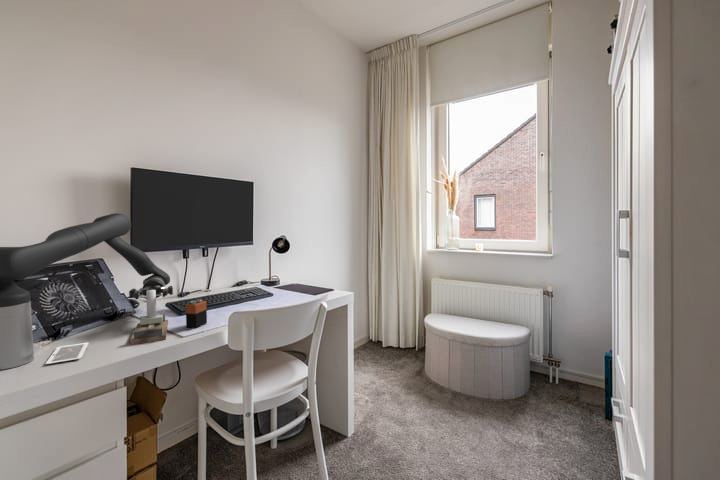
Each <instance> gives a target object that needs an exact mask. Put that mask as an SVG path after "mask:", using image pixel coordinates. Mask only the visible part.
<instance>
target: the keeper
mask: <svg viewBox="0 0 720 480" xmlns="http://www.w3.org/2000/svg"><path fill="white" fill-rule="evenodd" d="M145 298H146V315H144V316H145V317H141V316H140V317H141V319H140V318H139V323H140V325H145V324H153V323H162V322H163V315H159V314H157V298H156V290H148V291H146V297H145Z"/></svg>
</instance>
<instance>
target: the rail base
mask: <svg viewBox="0 0 720 480" xmlns="http://www.w3.org/2000/svg"><path fill="white" fill-rule="evenodd" d="M158 315H163V322H162V323H153V324H145V325H140V322H137V324H136V327H135V329H134V331H133V333H132V335H131V338H130V345H137V344H145V343H150V342H151V343H152V342H159V341H166V340H167V339H166V338H167V331H168V327H167V326H168V325H169V320H168V319H166V314H165V313H162V314H158ZM145 316H146V315H144V316H143V315H142V316H140V317H139V320H140V319H141V317H145Z"/></svg>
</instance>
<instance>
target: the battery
mask: <svg viewBox="0 0 720 480" xmlns="http://www.w3.org/2000/svg"><path fill="white" fill-rule="evenodd" d="M207 310H208V309H207V301H206V300H202V299H201V298H198V299H197V300H191V301H190V302H189V303H186V304H185V325H186V326H185V327H186V328H188V329H197V328H198V329H199V328H200V327H202V326H204V325H207V323H208V322H207V321H208V319H207V318H208V315H207Z"/></svg>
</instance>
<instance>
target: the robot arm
mask: <svg viewBox="0 0 720 480" xmlns="http://www.w3.org/2000/svg"><path fill="white" fill-rule="evenodd" d="M131 228H132V221H131V220H130V218H129V217H128V216H127V215H126V214H123V213H119V212H117V213H116V212H114V213H110V214H107V215H102V216H98V217H96V218H95V219H94V220H93V221H92V222H88V223H81V224H77V225H71V226H68V227H64V228H62V229H58V230H56V231H54V232H52V233H50V234H49V235H48V236H47V237H46V238H45V240H43V241H42V242H39V243H34V244H30V245H25V246H24V245H23V246H0V370H8V369H12V368H13V369H14V368H17V367H20V366H23V365H26V364H28V363H31V362H32V361H33V360H34V359H35V357H34V356H35V355H34V353H35V351H34V339H33V338H34V333H33V318H32V301H31V300H32V299H31V293H30V291H28V290H27V289H24V288H22V287H20V286H18V285H17V284H16V282H15V281H17V280H23V279H26V278H27V277H31V276H32V275H34V274H36V273H37V272H40V271H41V270H43V269H45V268H47V267H48V266H50V265H52V264H54V263H57V262H60V261H62V260H63V261H64V260H65V259H68V258H71V257H72V256H75V255H78V254H80V253H82V252H84V251H88V250H89V249H91V248H94V247H95V246H98V245H99V244H101V243H103V242H104V243H105V244H107V245H108V246H109V247H110V248H111V249H113V250H114V251H115V252H116V253H117V254H119V255H120V256H121V257H123V258H124V259H125V261H127V262H128V263H129V264H130V266H132V268H133V269H134V270H135V271H136V272H137V274H138V275H140V277H146V276H147V277H146V278H145V279H143V281H142V285H143V286H142V288H141V287H140V288H138V290H137V289H136V288H131V289H130V290H129V291H128V294H129V295H128V296H129V299H135V300H138V299H140V298H143V299H144V298H146V291H148V290H156V299H158V298H160V297H162V298H165V297H166V296H168V294H169V295H170V296H171V295H172V296H173V295H174V287H173V285H169V284H170V282H171V276H170V275H169V273H167V272H166V271H164V269H161V268H160V267H158V266H157V265H156V264H155V263H154V262H153V261H152V260H151V259H150V257H149V255H148V254H146V252H144V251H142V250H141V249H139V248H137V247H135V246H133V245H131V244H130V243H128V242H127V241H125V240H124V239H123V238H121V237H122V236H125V235H126V234H128V233H129V232H130V230H131ZM167 285H169V286H167ZM166 286H167V287H166Z"/></svg>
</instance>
